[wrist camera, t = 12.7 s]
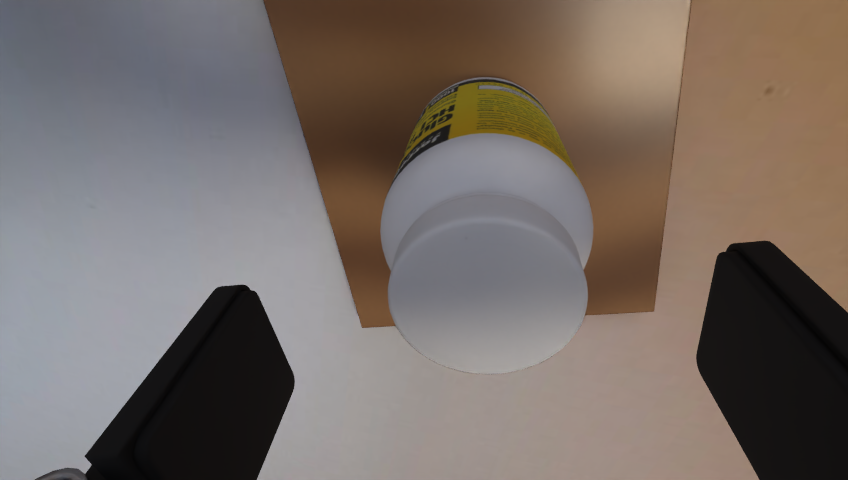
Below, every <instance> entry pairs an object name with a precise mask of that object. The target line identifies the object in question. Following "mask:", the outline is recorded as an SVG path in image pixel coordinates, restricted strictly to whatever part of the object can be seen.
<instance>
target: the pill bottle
mask: <svg viewBox="0 0 848 480" xmlns="http://www.w3.org/2000/svg"><path fill="white" fill-rule="evenodd" d="M380 233H381V243H382V249H383V252H384V255H385V259H386V262H387V264H388V266H389V268H390V270H391V274H390V278H389V283H388V303H389V309H390V313H391V316H392V318H393V321H394V323H395V325H396V327H397V329H398V330H399V332H400V333H401V335H402V336H403V337H404V339H405V340H406V341H407V342H408V343H409V344H410V345H411V346H412V347H413V348H415V349H416V350H417V351H418V352H419V353H421V354H422V355H424V356H425V357H427V358H429V359H430V360H432V361H434V362H436V363H438V364H440V365H443V366H445V367H448V368H451V369H454V370H458V371H462V372H467V373H475V374H503V373H509V372H515V371H519V370H523V369H526V368H529V367H532V366H534V365H537V364H539V363H542V362H543V361H545V360H547V359H548V358H550V357H552V356H553V355H554V354H556V353H557V352H559V351H560V350H561V349H562V348H563V347H564V346H565V345H566V344H568V342H569V341H570V340H571V339H572V338H573V337H574V335H575V334H576V332H577V331H578V329H579V327H580V326H581V324H582V321H583V319H584V316H585V313H586V308H587V301H588V288H587V281H586V277H585V274H584V271H583V270H584V268H585V265H586V263H587V261H588V258H589V255H590V251H591V247H592V241H593V218H592V212H591V207H590V204H589V200H588V197H587V194H586V192H585V190H584V187H583V185H582V183H581V181H580V179H579V177H578V175H577V173H576V171H575V169H574V167H573V164H572V162H571V160H570V158H569V156H568V154H567V152H566V150H565V148H564V146H563V143H562V141H561V139H560V137H559V135H558V133H557V131H556V129H555V126H554V124H553V122H552V120H551V118H550V116H549V115H548V113H547V111H546V110H545V108H544V107H543V105H542V104H541V103H540V102H539V101H538V99H537V98H536V97H535V96H534V95H532V94H531V93H530V92H528V91H527V90H526V89H524V88H523V87H521V86H519V85H517V84H515V83H513V82H510V81H507V80H504V79H500V78H492V77H479V78H472V79H467V80H464V81H461V82H458V83H455V84H454V85H452V86H450V87H448V88H446V89H445V90H443V91H442V92H440V93H439V94H438V95H437V96H435V97H434V98H433V99H432V100H431V101H430V103H429V104H428V105H427V106H426V107H425V109H424V110H423V112H422V114H421V115H420V117H419V119H418V121H417V123H416V125H415V127H414V130H413V132H412V135H411V137H410V140H409V143H408V145H407V147H406V150H405V153H404V155H403V158H402V160H401V162H400V164H399V167H398V170H397V172H396V174H395V177H394V179H393V181H392V184H391V186H390V189H389V191H388V193H387V196H386V198H385V202H384V207H383V211H382V217H381V228H380Z"/></svg>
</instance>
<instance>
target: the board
mask: <svg viewBox="0 0 848 480" xmlns="http://www.w3.org/2000/svg"><path fill="white" fill-rule="evenodd" d="M691 1H692V0H264V4H265V7H266V10H267V14H268V17H269V20H270V24H271V27H272V30H273V34H274V37H275V40H276V44H277V47H278V50H279V54H280V57H281V60H282V64H283V67H284V70H285V73H286V77H287V80H288V83H289V87H290V90H291V93H292V97H293V100H294V103H295V107H296V110H297V113H298V117H299V120H300V123H301V127H302V130H303V133H304V137H305V140H306V143H307V146H308V150H309V153H310V156H311V160H312V163H313V166H314V170H315V173H316V176H317V180H318V183H319V186H320V190H321V193H322V196H323V200H324V203H325V206H326V210H327V213H328V216H329V219H330V223H331V226H332V229H333V233H334V236H335V239H336V243H337V246H338V249H339V253H340V256H341V259H342V263H343V266H344V269H345V273H346V276H347V279H348V282H349V286H350V289H351V292H352V296H353V299H354V302H355V306H356V309H357V312H358V316H359V319H360V322H361V326H362V328H368V327H386V326H396V325H395V323H394V321H393V318H392V316H391V313H390V309H389V303H388V283H389V278H390V274H391V270H390V268H389V266H388V264H387V262H386V259H385V255H384V252H383V249H382V243H381V233H380V228H381V217H382V211H383V207H384V202H385V198H386V196H387V193H388V191H389V189H390V186H391V184H392V181H393V179H394V177H395V174H396V172H397V170H398V167H399V164H400V162H401V160H402V158H403V155H404V153H405V150H406V147H407V145H408V143H409V140H410V137H411V135H412V132H413V130H414V127H415V125H416V123H417V121H418V119H419V117H420V115H421V114H422V112H423V110H424V109H425V107H426V106H427V105H428V104H429V103H430V101H431V100H432V99H433V98H434V97H435V96H437V95H438V94H439V93H440V92H442V91H443V90H445V89H446V88H448V87H450V86H452V85H454V84H455V83H458V82H461V81H464V80H467V79H472V78H479V77H492V78H500V79H504V80H507V81H510V82H513V83H515V84H517V85H519V86H521V87H523V88H524V89H526V90H527V91H528V92H530V93H531V94H532V95H534V96H535V97H536V98H537V99H538V101H539V102H540V103H541V104H542V105H543V107H544V108H545V110H546V111H547V113H548V115H549V116H550V118H551V120H552V122H553V124H554V126H555V129H556V131H557V133H558V135H559V137H560V139H561V141H562V143H563V146H564V148H565V150H566V152H567V154H568V156H569V158H570V160H571V162H572V164H573V167H574V169H575V171H576V173H577V175H578V177H579V179H580V181H581V183H582V185H583V187H584V190H585V192H586V194H587V197H588V200H589V204H590V207H591V212H592V218H593V241H592V247H591V251H590V255H589V258H588V261H587V263H586V265H585V268H584V270H583V271H584V274H585V277H586V281H587V288H588V301H587V308H586V313H585V315H600V314H618V313H636V312H653V311H654V307H655V299H656V290H657V282H658V274H659V266H660V257H661V249H662V241H663V233H664V224H665V216H666V208H667V200H668V191H669V183H670V175H671V166H672V158H673V150H674V142H675V133H676V125H677V117H678V109H679V100H680V92H681V84H682V75H683V67H684V59H685V51H686V42H687V34H688V26H689V18H690V9H691Z"/></svg>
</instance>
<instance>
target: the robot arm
mask: <svg viewBox="0 0 848 480" xmlns="http://www.w3.org/2000/svg"><path fill="white" fill-rule="evenodd" d="M696 359H697V366H698V369H699V372H700V374H701V376H702V378H703V379H704V381H705V383H706V385H707V387H708V388H709V390H710V392H711V394H712V396H713V397H714V399H715V401H716V403H717V404H718V406H719V408H720V410H721V412H722V413H723V415H724V417H725V419H726V420H727V422H728V424H729V426H730V428H731V429H732V431H733V433H734V435H735V437H736V438H737V440H738V442H739V444H740V445H741V447H742V449H743V451H744V453H745V454H746V456H747V458H748V460H749V461H750V463H751V465H752V467H753V469H754V470H755V472H756V474H757V476H758V478H759V479H760V480H848V312H846V311H845V310H844V309H843V308H842V307H841V306H840V305H839V304H838V303H837V302H836V301H835V300H833V299H832V298H831V297H830V296H829V295H828V294H827V293H826V292H825V291H824V290H823V289H822V288H821V287H819V286H818V285H817V284H816V283H815V282H814V281H813V280H812V279H811V278H810V277H809V276H808V275H806V274H805V273H804V272H803V271H802V270H801V269H800V268H799V267H798V266H797V265H796V264H795V263H794V262H792V261H791V260H790V259H789V258H788V257H787V256H786V255H785V254H784V253H783V252H782V251H781V250H780V249H778V248H777V247H776V246H775V245H774V244H773V243H771V242H770V241H757V242H745V243H733V244H731V245H730V246H729V247H728V248H727V250H726V252H721V253H719V255H718V256H717V259H716V264H715V269H714V273H713V278H712V283H711V288H710V292H709V297H708V302H707V307H706V312H705V316H704V321H703V326H702V331H701V336H700V340H699V345H698V350H697V356H696ZM294 383H295V380H294V375H293V372H292V370H291V367H290V365H289V363H288V361H287V359H286V356H285V354H284V352H283V350H282V347H281V345H280V343H279V341H278V339H277V336H276V334H275V332H274V330H273V327H272V325H271V323H270V321H269V319H268V316H267V314H266V312H265V310H264V307H263V305H262V303H261V301H260V298H259V296H258V295H257V293H256V292H255V291H251V290H250V289H249V287H247V286H246V285H233V286H221V287H218V288H216V289H215V290H214V291H213V292H212V294H211V295H210V296H209V297H208V299H207V300H206V301H205V303H204V304H203V305H202V306H201V308H200V309H199V310H198V312H197V313H196V314H195V315H194V317H193V318H192V319H191V321H190V322H189V323H188V324H187V326H186V327H185V328H184V330H183V331H182V332H181V333H180V335H179V336H178V337H177V339H176V340H175V341H174V342H173V344H172V345H171V346H170V347H169V349H168V350H167V351H166V353H165V354H164V355H163V356H162V358H161V359H160V360H159V362H158V363H157V364H156V365H155V367H154V368H153V369H152V371H151V372H150V373H149V374H148V376H147V377H146V378H145V380H144V381H143V382H142V383H141V385H140V386H139V387H138V389H137V390H136V391H135V392H134V394H133V395H132V396H131V398H130V399H129V400H128V401H127V403H126V404H125V405H124V407H123V408H122V409H121V410H120V412H119V413H118V414H117V415H116V417H115V418H114V419H113V421H112V422H111V423H110V424H109V426H108V427H107V428H106V430H105V431H104V432H103V433H102V435H101V436H100V437H99V439H98V440H97V441H96V442H95V444H94V445H93V446H92V448H91V449H90V450H89V451H88V453H87V454H86V455H85V457H86V458H87V460H88V461H89V462H90V463H91V464H92V466H91V467H90V468H89V470H88V471H87V472H86V474H84V473H83V472H81V471H80V470H79V469H75V468H64V469H59V470H55V471H52V472H50V473H47V474H45V475H43V476H41V477H39V478H37V479H35V480H257V477H258V475H259V473H260V470H261V468H262V465H263V463H264V460H265V458H266V456H267V453H268V451H269V448H270V446H271V443H272V441H273V439H274V436H275V434H276V431H277V429H278V426H279V424H280V422H281V419H282V417H283V414H284V412H285V409H286V407H287V405H288V402H289V400H290V397H291V395H292V392H293V389H294Z"/></svg>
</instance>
